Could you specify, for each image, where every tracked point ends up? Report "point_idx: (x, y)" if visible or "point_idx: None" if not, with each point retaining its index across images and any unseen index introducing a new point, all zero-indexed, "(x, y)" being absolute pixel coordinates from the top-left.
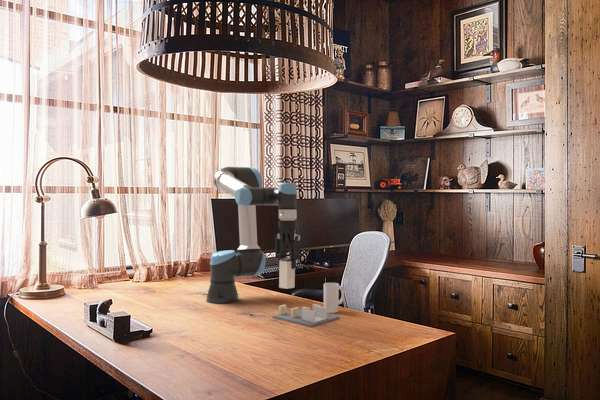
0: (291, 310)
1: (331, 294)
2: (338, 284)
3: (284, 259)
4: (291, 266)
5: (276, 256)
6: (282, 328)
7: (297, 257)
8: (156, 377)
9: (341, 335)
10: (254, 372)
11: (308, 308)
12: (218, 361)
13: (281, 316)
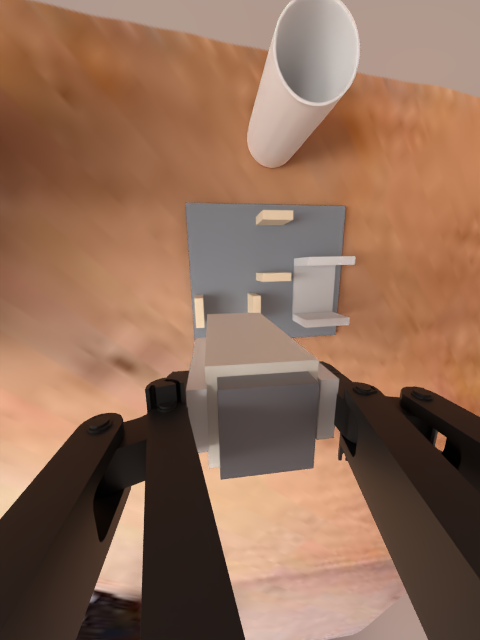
0: None
1: (317, 125)
2: (355, 30)
3: (272, 468)
4: None
5: (119, 492)
6: None
7: (435, 433)
8: (317, 627)
9: (417, 332)
10: None
11: (290, 280)
12: (334, 560)
13: None
